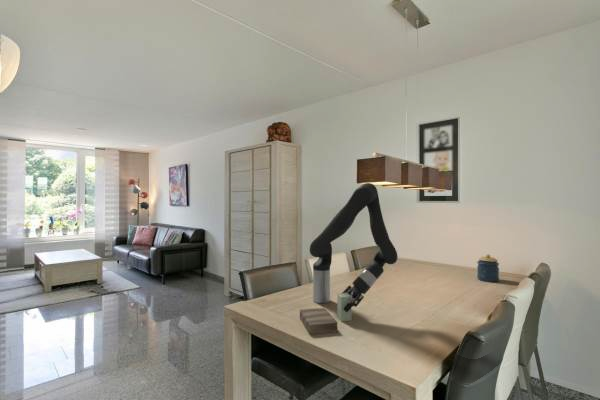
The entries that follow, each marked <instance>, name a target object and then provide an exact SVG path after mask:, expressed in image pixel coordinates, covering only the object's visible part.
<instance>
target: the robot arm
mask: <svg viewBox="0 0 600 400" xmlns="http://www.w3.org/2000/svg"><path fill="white" fill-rule="evenodd" d="M380 204H381V203H380V199H379V192H378V189H377V187H376V186H375V185H374V184H373V183H370V182H366V183H363V184H362V185H359V186H358V187H356V189H355V190H354V191H353V193H352V195H351V196H350V198H349V199H348V201H347V202H346V203H345V205H344V206H343V207H342V208H341V209H340V210H339V211H338V212H337V213H336V214H335V216H334V217H333V218H332V220H330V222H329V223H328V225H327V226H326V227H325V228H324V229H323V230H322V232H320V234H319V235H318V236H317V237H316V238H315V239H314V240H313V241H311V243H310V245H309V254H310V255H311V257H314V258H318V259H317V260H316V261H314V263H313V266H312V269H313V270H312V301H313V302H314V303H316V304H328V303H329V302H330V301H331V265H332V261H333V260H332V256H333V246H332V244H331V243H332V242H333V241H335V240H337V239H339V238H340V237H342V236H343V235H345V233H346V232H347V231H348V230H349V229H350V228H351V227H352V226H353V224H354V221H355V220H356V217H357V215H358V214H359V213H360V212H361V211H362V210H364V209H365V208H366V207H367V210H368V215H369V216H368V217H369V226H370V232H371V235H372V238H373V241H374V243H375V245H376V246H377V247H378V248H379V250H377V252H376V253H375V254H374V255H373V258H372V260H371V262H370V264H369V265H367V267H366V268H365V269H364V270H362V272H360V273H359V275H358V276H357V277H356V278H355V279H354V280H353V282H352V285H353V286H351V285H350V284H349V285H348V286H347V287H346V288H345V289H344V290H343V291H342V293H348V294H349V295H350V301H349V303H348V304H347V305H346V306H345V307H344V310H345V311H346V312H348V311H349V310H350V309H351V310H352V308H353V307H354V308H355V307H356V308H357V306H358V305H359V304H360V303H361V301H363V299H364V298H365V296H364V295H366V294H367V292H368V291H369V290H370V289H371V288H372V287H373V285H375V283H376V282H377V280H378V279H379V278H380V277H381V275H382V274H383V273H384V266H385V264H386V265H387V264H388V265H394V264H395V263H397V261H398V252H397V250H396V248H395V246H394V244H393V242H392V241H391V239H390V235H389V233H388V231H387V227H386V225H385V221H384V218H383V213H382V210H381V209H382V208H381V205H380Z"/></svg>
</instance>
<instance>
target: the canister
mask: <svg viewBox="0 0 600 400" xmlns="http://www.w3.org/2000/svg"><path fill="white" fill-rule="evenodd" d="M476 263H477V267H476V268H477V275H476V277H477V280H479V281H480V282H481V281H482V282H488V283H499V281H500V268H499V265H500V263H499V262H498V259H496V258H495V257H493V256H492V257H491V255H490V254H486V255H485V256H481V257H479V258H478V261H477V262H476Z"/></svg>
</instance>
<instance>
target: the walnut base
mask: <svg viewBox="0 0 600 400" xmlns="http://www.w3.org/2000/svg"><path fill="white" fill-rule="evenodd" d="M299 320H300V321H301V323H302V325H303V326H304V328H305V329H306V331H307V333H308V335H318V334H330V333H337V332H338V321H337V320H336V319H335V318H334V317H333V315H331V312H329V311H328V310H327V309H326V308H325V307H317V308H316V307H315V308H303V309H301V308H300V309H299Z"/></svg>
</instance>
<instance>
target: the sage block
mask: <svg viewBox="0 0 600 400" xmlns="http://www.w3.org/2000/svg"><path fill="white" fill-rule="evenodd" d="M336 297H337V301H336V306H337V308H336V309H337V310H336V311H337V312H336V314H337V316H336V317H337V319H338V320H339V321H340V322H347V321H348V322H349V321H352V308H351V309H350V310H349V311H348V312H346V311H345V310H344V307H345V306H346V305H347V304H348V303H349V301H350V295H349V294H348V293H343V292H341V293H337V296H336Z"/></svg>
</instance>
